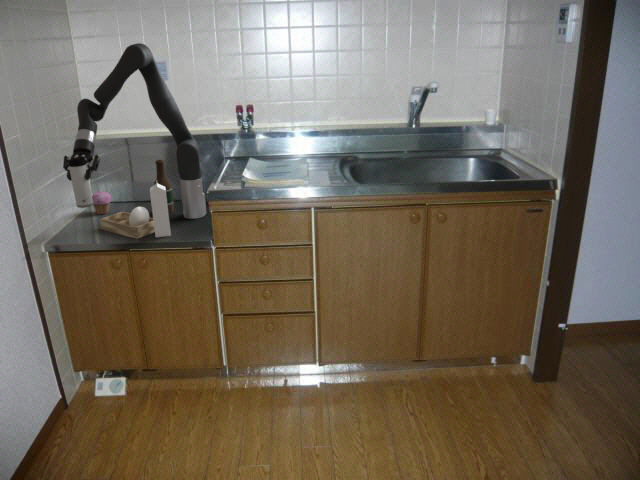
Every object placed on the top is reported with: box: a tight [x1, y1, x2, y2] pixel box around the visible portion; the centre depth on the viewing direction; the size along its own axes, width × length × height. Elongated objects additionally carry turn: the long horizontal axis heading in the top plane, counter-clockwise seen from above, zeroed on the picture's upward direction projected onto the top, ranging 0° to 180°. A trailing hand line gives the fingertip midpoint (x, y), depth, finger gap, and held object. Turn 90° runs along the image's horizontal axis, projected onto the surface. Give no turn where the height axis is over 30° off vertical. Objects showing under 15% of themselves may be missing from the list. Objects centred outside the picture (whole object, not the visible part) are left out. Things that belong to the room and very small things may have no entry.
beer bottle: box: [153, 159, 175, 215], centre depth 243 cm, size 8×8×24 cm
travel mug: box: [68, 156, 94, 209], centre depth 216 cm, size 6×7×20 cm
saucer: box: [129, 206, 150, 227], centre depth 221 cm, size 10×1×10 cm, turn 148°
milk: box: [149, 183, 172, 238], centre depth 216 cm, size 6×6×22 cm
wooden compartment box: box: [98, 211, 155, 240], centre depth 225 cm, size 12×22×4 cm, turn 58°
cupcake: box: [92, 191, 112, 215], centre depth 246 cm, size 9×9×10 cm
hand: (78, 179), depth 214 cm, fingers closed on travel mug, 6 cm apart
